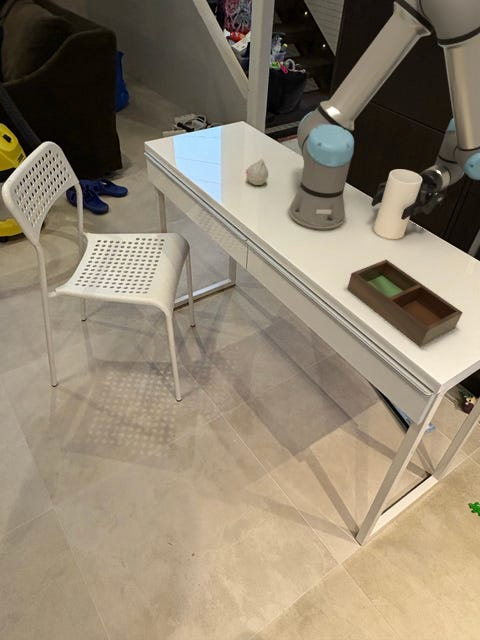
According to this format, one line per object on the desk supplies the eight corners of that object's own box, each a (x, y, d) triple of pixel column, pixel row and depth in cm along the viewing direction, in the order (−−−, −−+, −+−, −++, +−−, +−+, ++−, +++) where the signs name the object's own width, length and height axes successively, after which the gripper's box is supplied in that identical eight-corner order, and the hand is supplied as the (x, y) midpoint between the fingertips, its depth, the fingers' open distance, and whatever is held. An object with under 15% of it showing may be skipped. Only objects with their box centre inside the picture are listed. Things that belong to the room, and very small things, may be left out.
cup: (398, 242, 130) (417, 187, 120) (369, 232, 133) (385, 177, 122) (407, 229, 136) (425, 175, 125) (378, 220, 139) (394, 166, 128)
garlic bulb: (246, 177, 153) (248, 152, 147) (268, 180, 152) (271, 155, 147) (243, 186, 148) (245, 161, 142) (265, 190, 147) (268, 164, 142)
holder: (381, 274, 119) (386, 259, 116) (455, 328, 106) (462, 312, 103) (346, 289, 113) (351, 273, 110) (420, 347, 100) (427, 330, 97)
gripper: (459, 209, 136) (420, 237, 123) (394, 181, 146) (351, 205, 133) (470, 184, 131) (430, 210, 118) (401, 157, 141) (357, 179, 128)
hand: (388, 207), depth 126 cm, fingers closed on cup, 8 cm apart
